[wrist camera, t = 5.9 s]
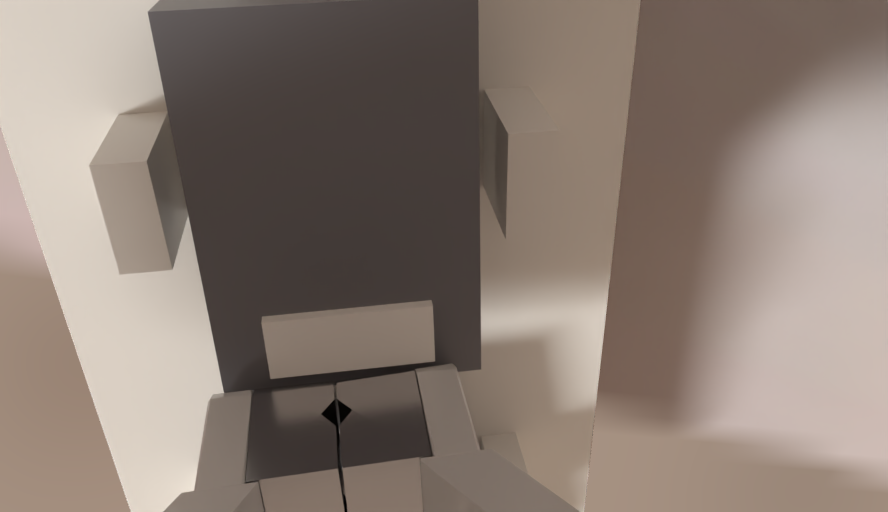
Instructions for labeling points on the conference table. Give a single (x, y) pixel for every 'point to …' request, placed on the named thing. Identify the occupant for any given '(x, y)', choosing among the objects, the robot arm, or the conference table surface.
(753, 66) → the conference table surface
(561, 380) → the rocker switch panel
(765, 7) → the conference table surface
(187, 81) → the plate
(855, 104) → the conference table surface
